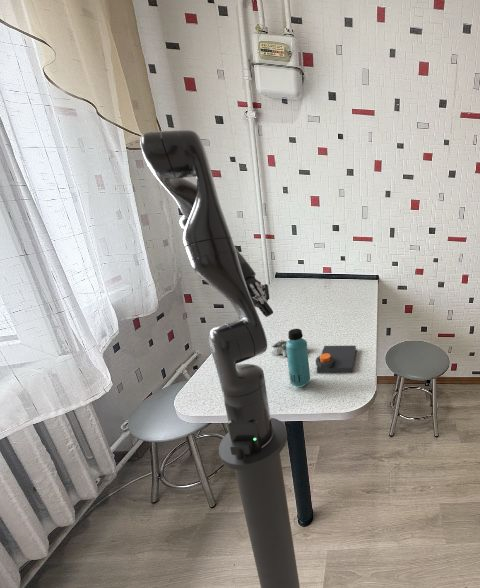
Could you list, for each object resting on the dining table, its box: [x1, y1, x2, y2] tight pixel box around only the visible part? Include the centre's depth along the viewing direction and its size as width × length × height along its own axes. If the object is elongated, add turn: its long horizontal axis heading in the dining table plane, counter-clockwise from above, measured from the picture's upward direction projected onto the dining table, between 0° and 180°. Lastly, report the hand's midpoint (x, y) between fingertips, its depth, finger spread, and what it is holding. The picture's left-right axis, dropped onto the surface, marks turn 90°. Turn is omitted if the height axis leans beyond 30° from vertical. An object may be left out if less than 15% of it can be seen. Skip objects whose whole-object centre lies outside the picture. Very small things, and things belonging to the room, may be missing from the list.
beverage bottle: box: [286, 328, 311, 387], centre depth 104 cm, size 6×7×20 cm
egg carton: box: [271, 339, 289, 358], centre depth 125 cm, size 11×8×4 cm
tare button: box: [319, 353, 331, 363], centre depth 116 cm, size 4×4×2 cm
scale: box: [315, 345, 357, 374], centre depth 121 cm, size 15×13×4 cm
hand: (269, 315), depth 101 cm, fingers closed
